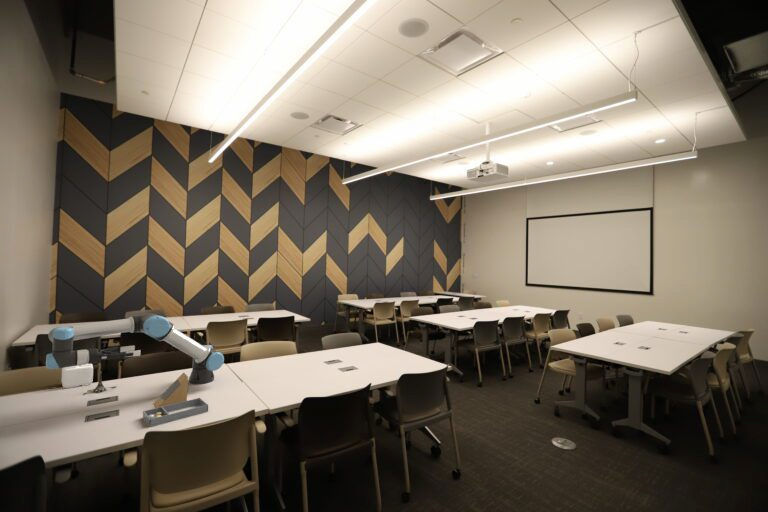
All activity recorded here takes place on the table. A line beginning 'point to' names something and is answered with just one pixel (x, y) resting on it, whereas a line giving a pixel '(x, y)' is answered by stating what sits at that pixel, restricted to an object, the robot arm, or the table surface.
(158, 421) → the parts tub
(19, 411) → the table surface
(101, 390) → the eiffel tower figurine
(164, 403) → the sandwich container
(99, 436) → the table surface
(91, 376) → the cable organizer
